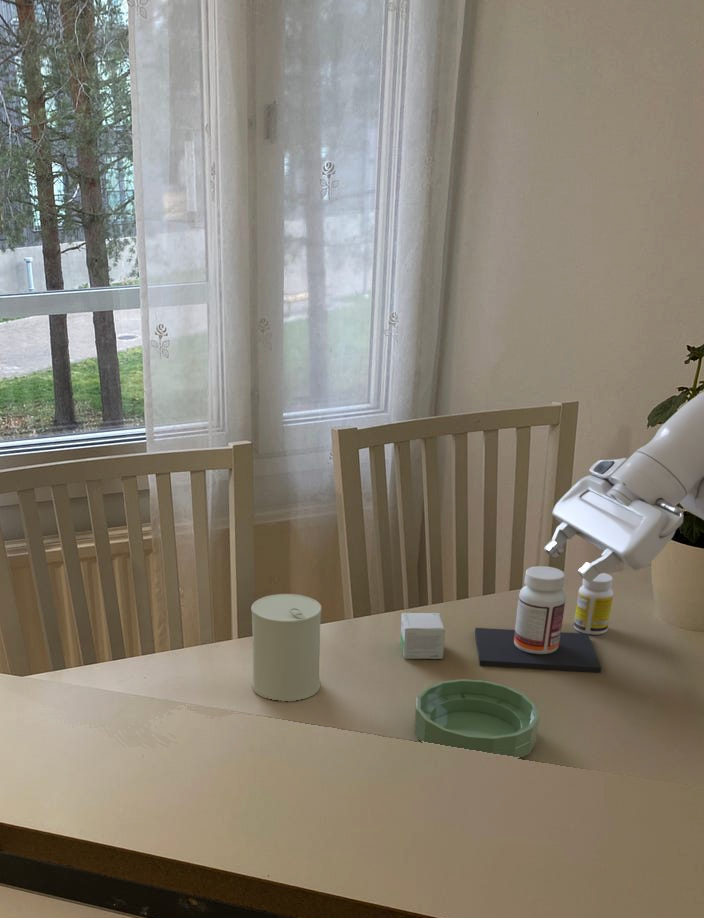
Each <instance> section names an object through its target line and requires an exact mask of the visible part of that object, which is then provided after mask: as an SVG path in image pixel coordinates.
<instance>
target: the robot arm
mask: <svg viewBox="0 0 704 918" xmlns="http://www.w3.org/2000/svg"><path fill="white" fill-rule="evenodd" d="M589 472H590V474H589V475H586V476H584V477H581V478H580V479H579V480H578V481H577V482H576V483H574V485H573V486H572V487H570V489H569V490H567V491H566V493H565V494H563V496H562V497H561V498H560V499H558V500H557V502H556V504H555V505H554V507H553V509H552V512H551V515H552V516H553V517H554V518H555V519H556V521H557V522H558V523H559V525H558V526H557V527H556V529H555V531H554V534H553V536H552V538H551V540H550V541H549V542H548V543H546V544H545V546H544V548H543V550H544V552H545V553H547V555H548V556H550V557H551V558H553V559H557V558H558V557H559V556H560V555H561V554H562V553H563V552H564V551H565V550H564V548H563V547H564V546H565V545H566V542H567V541H568V540H572V538H574V537H575V536H578V537H580V538H581V539H583V540H584V541H586V542H588V543H590V544H591V545H593V546H595V547H596V548H597V549H599V550H601V551H602V553H601V554H600V555H601V556H600V557H599V558H597V559H595V560H594V561H592V562H590V563H589V562H588V561H586V562H585V563H584V564H583V565H582V567H580V568H579V569H578V571H577V573H578V575H580V577H581V578H582V579H583V578H584V579H585V580H586V581H588V582H591V581H593V580H594V579H595V578H596V577H597V576H598V575H599V574H601V573H606V572H608V571H611V570H613V569H616V568H617V567H618V566H619V565H620V564H621V563H622V564H624V565H626V566H628V567H629V568H631V569H633V571H634V570H635V571H639V570H640V569H643V568H647V566H649V565H650V564H651V563H652V562H653V561H654V560H655V559H656V557H658V556H659V554H660V553H661V552H662V551H663V550H664V548H665V547H666V546H667V545H668V544H669V542H670V541H671V540H672V539H673V537H674V536H675V533H676V531H677V530H678V528H680V527H681V526H682V524H683V523H684V519H685V517H684V516H685V515H684V510H686V511H687V512H688V513H690V514H692V515H694V516H695V517H698V518H700V519H701V520H702V521H704V391H702V392H700V393H699V394H697V395H695V396H694V397H693V398H691V399H690V400H689V401H687V402H686V403H685V404H683V405H682V407H681V408H679V409H678V410H677V411H675V412H674V413H673V414H672V415H671V416H670V417H669V418H668V419H667V420H666V421H665V422H664V423H663V424H662V425H661V426H660V427H659V428H658V429H657V431H656V433H655V435H654V436H653V437H652V439H651V440H649V442H647V443H646V444H644V445H643V446H641V447H639V448H638V449H637V450H635V451H634V452H633V453H632V455H630V456H629V457H628V458H627V457H621V458H616V459H600V460H597V461H596V462H595V463H594V464H592V465H591V467H590V468H589ZM678 505H680V506H681V507H680V506H678ZM682 508H683V509H682Z"/></svg>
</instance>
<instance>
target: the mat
mask: <svg viewBox="0 0 704 918" xmlns="http://www.w3.org/2000/svg"><path fill="white" fill-rule="evenodd" d="M514 634H515V629H508V628H488V627H487V628H486V627H475V628H474V637H475V643H476V649H477V656H478V664H479V666H482V667H484V666H485V667H499V668H500V667H501V668H514V669H515V668H517V669H519V668H520V669H532V670H533V669H535V670H550V671H566V672H567V671H568V672H584V673H602V669H603V668H602V665H601V662H600V660H599V658H598V655H597V653H596V651H595V648H594V645H593V644H592V643H593V642H592V641H591V639H590V635H589V634H585V633H581V632H566V631H565V632H564V631H561V634H560V641H559V646H558V648H557V650H556V651H554V652H552V653H549V654H532V653H527V652H524V651H522V650H520V649H518V648H517V647H516V645H515V644H514Z"/></svg>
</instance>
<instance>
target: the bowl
mask: <svg viewBox="0 0 704 918" xmlns="http://www.w3.org/2000/svg"><path fill="white" fill-rule="evenodd" d="M539 722H540V713H539V711H538V706H537V704H536V703H534V702H533V701H532V699H530V697H528V695H526V694H524V693H522V692H521V691H518V690H516V689H514V688H512V687H510V686H508V685H505V684H501V683H496V682H493V681H488V680H483V679H482V680H481V679H466V678H465V679H464V678H460V679H452V680H444V681H440V682H437V683H434V684H432V685H429V686H426V687H425V688H424V689H423V690H422V691H421V692H420V693H419V694H418V695H417V696H416V699H415V713H414V736H415V737H416V738H417V739H418V741H419V740H420V741H424V742H428V743H434V744H440V745H445V746H451V747H457V748H464V749H469V750H476V751H482V752H487V753H493V754H500V755H507V756H513V757H522V758H525V757H526V756H528V755H530V754H531V752H532V750H533V749H534V747H535V745H536V743H537V738H538V730H539ZM420 741H419V742H420Z"/></svg>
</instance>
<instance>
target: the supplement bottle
mask: <svg viewBox="0 0 704 918" xmlns="http://www.w3.org/2000/svg"><path fill="white" fill-rule="evenodd" d="M581 584H582V585H581V586H580V587H579V588H578V592H577V599H576V605H575V606H576V607H575V612H574V613H575V615H574V622H573V627H574V629H575V631H577V632H578V633H584V634H588V635H594V636H599V635H603V634H605V633H606V632H607V631H608V629H609V623H610V616H611V610H612V604H613V598H614V591H613V589H612V587H613V576H612V575H610V574H609V573H606V572H604V573H601V574H599V575H598V576H597V577H596V578H595V579H594V580H593V581H591V582H588V581H586V580H585V579H584V578H582V583H581Z"/></svg>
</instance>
